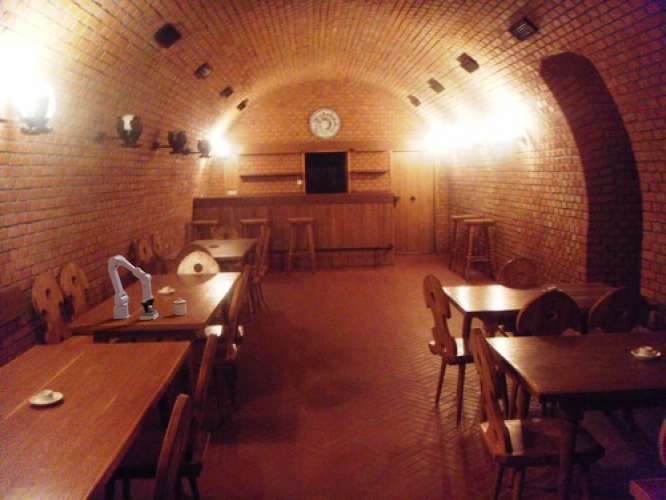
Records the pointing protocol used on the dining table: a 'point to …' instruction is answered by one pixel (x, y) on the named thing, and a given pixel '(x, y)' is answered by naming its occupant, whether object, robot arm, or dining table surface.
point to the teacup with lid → (179, 307)
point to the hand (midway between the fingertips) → (148, 310)
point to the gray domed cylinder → (150, 309)
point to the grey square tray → (148, 315)
